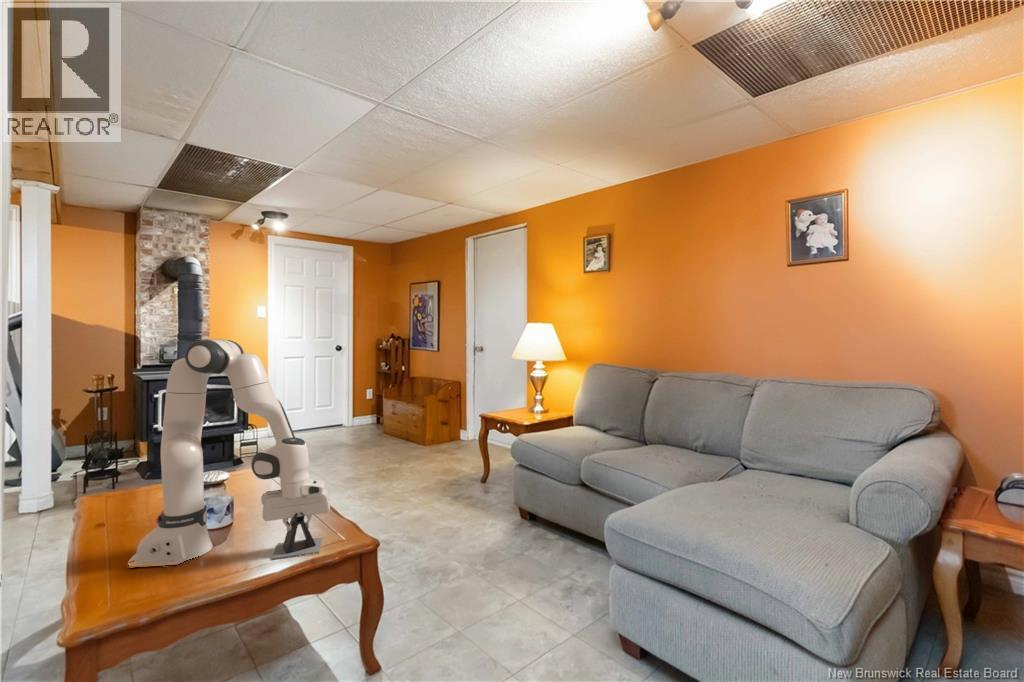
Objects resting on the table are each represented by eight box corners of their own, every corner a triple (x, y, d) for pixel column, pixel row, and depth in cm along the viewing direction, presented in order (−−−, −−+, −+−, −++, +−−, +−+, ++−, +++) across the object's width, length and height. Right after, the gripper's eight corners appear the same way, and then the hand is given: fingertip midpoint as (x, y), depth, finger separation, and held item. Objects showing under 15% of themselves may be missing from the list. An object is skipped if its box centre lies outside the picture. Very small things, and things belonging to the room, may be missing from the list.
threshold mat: (271, 560, 153) (271, 558, 153) (278, 544, 164) (277, 543, 164) (319, 553, 157) (318, 551, 157) (322, 538, 168) (322, 537, 168)
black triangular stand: (286, 554, 156) (283, 517, 155) (282, 547, 161) (280, 511, 160) (315, 545, 161) (313, 510, 160) (311, 539, 166) (309, 504, 165)
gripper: (258, 495, 154) (261, 538, 155) (327, 487, 160) (329, 528, 160) (262, 488, 160) (265, 530, 161) (329, 481, 166) (331, 521, 166)
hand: (298, 529), depth 160 cm, fingers open, 4 cm apart
